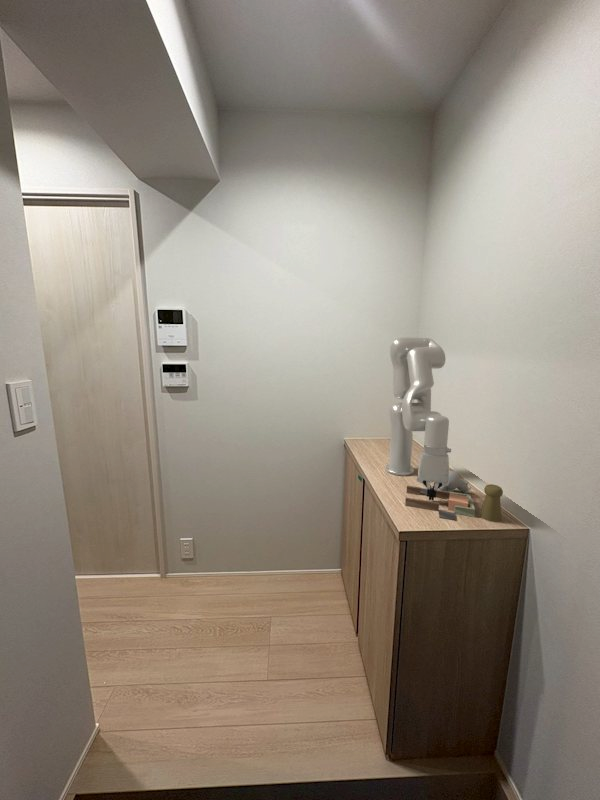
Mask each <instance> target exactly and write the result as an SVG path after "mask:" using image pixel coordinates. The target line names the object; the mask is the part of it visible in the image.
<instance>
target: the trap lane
mask: <svg viewBox="0 0 600 800" xmlns="http://www.w3.org/2000/svg"><path fill="white" fill-rule="evenodd" d="M450 493H452V494H457V495H462V496H467V497H469V498H468V507H463V506H457V505H455V510H454V511H448V510H447V511H446V510H441V509H440V502H437V501H432V500H425V499H417V498H411V497H405V499H404V500H405V501H404V502H405V503H404V506H407V507H411V508H412V507H413V508H419V509H424V510H425V509H426V510H430V511H438V515H439V519H442V520H443V519H445V520H449V521H450V520H451V521H455V522H456V521H457V518H456V517H457V516H456V515H461V516H466V517H474V518H475V516H476V515H475V514H476V507H475V505H474V502H473V500H472V496H471V494H468V493H466V494H464V493H462V492H454V491H453V492H448V491H442V490H440V489H438V490H436V498H437V499H438V498H439V499H444V500H449V495H450ZM406 494H412V495H418V496H419V495H420V496H421V495H426V496H427V488H423V487H419V486H415V485H414V486H413V485H406ZM439 509H440V510H439Z"/></svg>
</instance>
